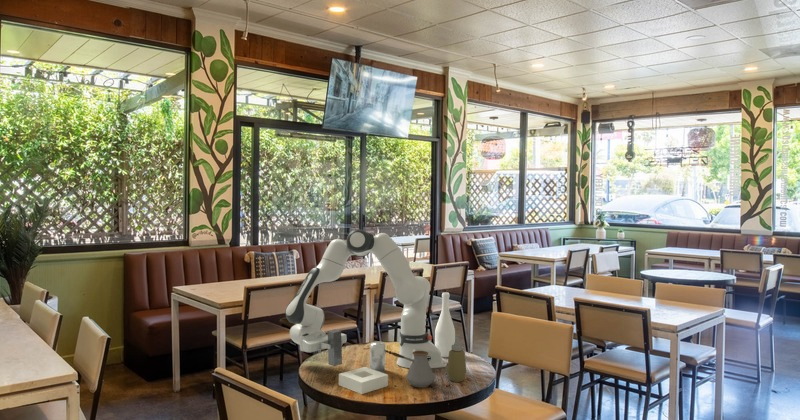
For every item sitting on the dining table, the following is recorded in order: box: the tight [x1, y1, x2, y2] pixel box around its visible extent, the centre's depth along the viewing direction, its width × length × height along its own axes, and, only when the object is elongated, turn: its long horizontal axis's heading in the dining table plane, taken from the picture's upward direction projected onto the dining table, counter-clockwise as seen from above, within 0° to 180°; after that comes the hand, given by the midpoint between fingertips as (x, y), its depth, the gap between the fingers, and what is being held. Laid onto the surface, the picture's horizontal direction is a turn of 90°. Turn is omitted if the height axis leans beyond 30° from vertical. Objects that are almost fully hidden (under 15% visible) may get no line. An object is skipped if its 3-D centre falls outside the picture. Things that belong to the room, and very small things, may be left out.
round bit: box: [369, 340, 386, 373], centre depth 244 cm, size 7×7×12 cm
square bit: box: [327, 329, 343, 367], centre depth 235 cm, size 4×4×14 cm
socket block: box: [338, 366, 389, 395], centre depth 225 cm, size 14×14×4 cm
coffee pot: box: [383, 349, 435, 388], centre depth 226 cm, size 21×12×15 cm, turn 108°
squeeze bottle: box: [446, 336, 467, 383], centre depth 233 cm, size 8×8×18 cm
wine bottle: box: [434, 291, 456, 358], centre depth 269 cm, size 10×10×30 cm
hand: (336, 345), depth 235 cm, fingers closed on square bit, 4 cm apart
